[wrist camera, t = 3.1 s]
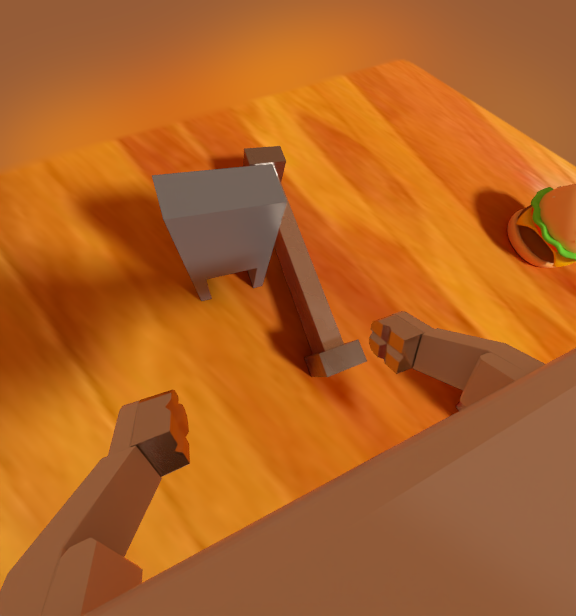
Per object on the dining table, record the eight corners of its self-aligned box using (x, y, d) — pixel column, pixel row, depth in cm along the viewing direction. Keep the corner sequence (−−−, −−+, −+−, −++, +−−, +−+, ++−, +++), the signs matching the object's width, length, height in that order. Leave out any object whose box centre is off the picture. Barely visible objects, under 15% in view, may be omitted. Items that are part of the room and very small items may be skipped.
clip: (201, 301, 23) (163, 219, 11) (195, 277, 24) (151, 175, 12) (262, 285, 25) (287, 201, 13) (255, 264, 26) (272, 164, 13)
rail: (344, 363, 25) (367, 361, 20) (311, 376, 24) (327, 377, 19) (273, 179, 29) (280, 146, 25) (242, 182, 28) (243, 148, 24)
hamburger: (485, 226, 36) (558, 182, 27) (522, 199, 39) (596, 153, 31) (538, 289, 34) (632, 263, 26) (571, 255, 38) (661, 222, 30)
